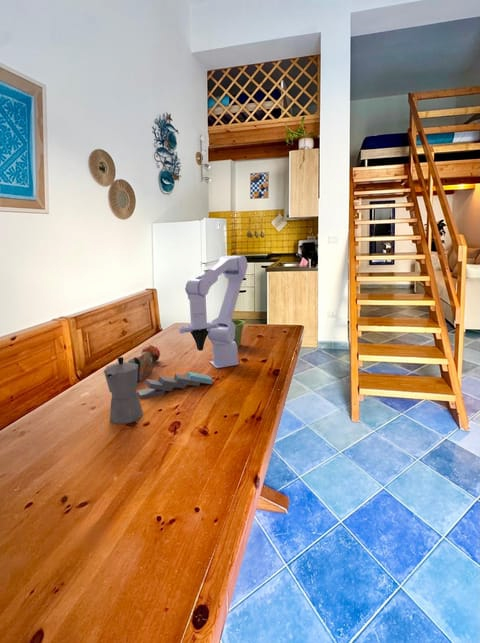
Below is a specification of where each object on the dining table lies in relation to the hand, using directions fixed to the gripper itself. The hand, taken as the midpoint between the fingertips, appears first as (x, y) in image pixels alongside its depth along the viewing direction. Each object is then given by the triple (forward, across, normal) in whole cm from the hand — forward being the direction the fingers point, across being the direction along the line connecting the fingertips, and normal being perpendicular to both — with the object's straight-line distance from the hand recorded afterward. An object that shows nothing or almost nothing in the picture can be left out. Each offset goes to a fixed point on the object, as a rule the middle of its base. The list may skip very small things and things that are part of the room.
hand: (200, 349), depth 137 cm
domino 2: (+9, +14, +6) cm, 18 cm away
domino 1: (+10, +16, +6) cm, 20 cm away
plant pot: (+10, -27, -27) cm, 39 cm away
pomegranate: (+10, +11, -25) cm, 29 cm away
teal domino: (+9, 0, +7) cm, 12 cm away
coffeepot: (+10, +30, +17) cm, 36 cm away
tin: (+10, +18, -12) cm, 24 cm away
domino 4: (+9, +4, +6) cm, 12 cm away
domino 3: (+9, +10, +6) cm, 14 cm away
